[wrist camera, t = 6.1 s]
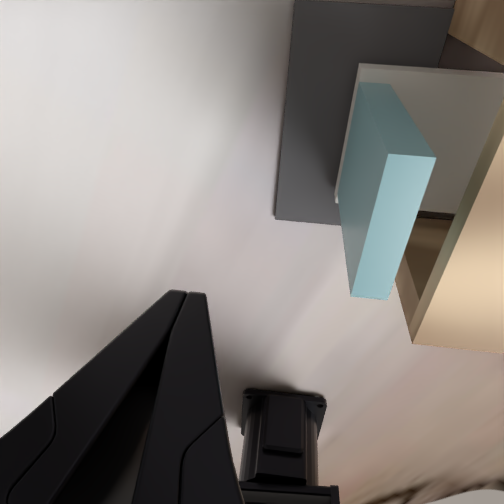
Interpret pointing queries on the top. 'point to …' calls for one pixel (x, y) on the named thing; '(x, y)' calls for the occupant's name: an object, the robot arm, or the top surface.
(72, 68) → the top surface
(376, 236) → the sled
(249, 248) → the top surface
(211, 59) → the top surface
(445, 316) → the tunnel
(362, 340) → the top surface
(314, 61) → the pad
